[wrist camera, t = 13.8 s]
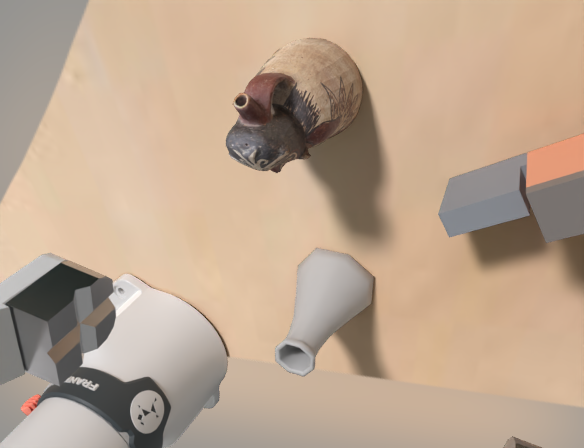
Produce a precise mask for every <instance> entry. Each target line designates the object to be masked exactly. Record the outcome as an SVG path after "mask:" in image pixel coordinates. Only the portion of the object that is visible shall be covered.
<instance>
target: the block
mask: <svg viewBox="0 0 584 448" xmlns="http://www.w3.org/2000/svg"><path fill="white" fill-rule="evenodd" d="M526 196H527V198H528V200H529V203H530V205H531V208H532V210H533V212H534V215H535V217H536V220H537V222H538V224H539V227H540V229H541V232H542V234H543V236H544V239H545V241H546V243H548V242H552V241H556V240H560V239H564V238H569V237H573V236H577V235H581V234H584V134H581V135H578V136H575V137H572V138H569V139H566V140H563V141H560V142H557V143H554V144H551V145H548V146H545V147H542V148H539V149H537V150H534V151H531V152H528V153H527V175H526Z"/></svg>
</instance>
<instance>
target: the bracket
mask: <svg viewBox="0 0 584 448" xmlns="http://www.w3.org/2000/svg"><path fill="white" fill-rule="evenodd" d="M526 175H527V153H525V154H522V155H519V156H516V157H513V158H510V159H507V160H504V161H501V162H498V163H495V164H492V165H489V166H486V167H483V168H480V169H477V170H474V171H471V172H468V173H465V174H462V175H459V176H456V177H453V178H450V179H449V182H448V185H447V188H446V191H445V195H444V198H443V201H442V204H441V207H440V210H439V213H438V215H439V217H440V219H441V221H442V223H443V225H444V227H445V229H446V231H447V234H448V236H449V237H452V236H456V235H460V234H463V233H467V232H471V231H474V230H478V229H482V228H485V227H489V226H493V225H496V224H500V223H504V222H508V221H511V220H515V219H519V218H522V217H526V216H530V203H529V200H528V198H527V196H526Z"/></svg>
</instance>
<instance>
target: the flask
mask: <svg viewBox="0 0 584 448" xmlns="http://www.w3.org/2000/svg"><path fill="white" fill-rule="evenodd" d="M373 280H374V277H373V276H372V275H371V274H370V273H369V272H368V271H367V270H365V269H364V268H363V267H362V266H361V265H360V264H359V263H358V262H356V261H355V260H354V259H353V258H352V257H351V256H350V255H348V254H343V253H339V252H334V251H329V250H324V249H319V248H316V249H315V250H314V251H313V252H312V253H311V254H310V255H309V256H308V257H307V258H305V259H304V260H303V261H302V262H301V263H300V264H299V265H298V271H297V287H296V299H295V309H294V317H293V320H292V324H291V327H290V330H289V333H288V335H287V337H286V339H285V340H283V341H282V342H281V343H280V344H279V345H277V346H276V348H275V358H276V362H277V363H278V364H279V365H281V366H282V367H283V368H284V369H285V370H287V371H288V372H290V373H293V374H297V375H300V376H305V375H307V374H308V373H310V372H311V371H312V370H314V368H315V357H316V355H317V353H318V351H319V349H320V348H321V347H322V345H323V344H324V343H325V342H326V341H327V339H328V338H329V337H330V336H331V335H332V334H333V333H334V332H336V331H337V330H338V329H339V328H341V327H342V326H343V325H344V324H345V323H347V322H348V321H349V320H351V319H352V318H353V317H355V316H356V315H357V314H358V313H360V312H361V311H362V310H364V309H365V308H366V307H368V306H369V305H370V304H371V303H372V291H373Z"/></svg>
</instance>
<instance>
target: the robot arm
mask: <svg viewBox="0 0 584 448" xmlns="http://www.w3.org/2000/svg"><path fill="white" fill-rule="evenodd" d="M227 363H228V362H227V354H226V351H225V348H224V345H223V343H222V341H221V339H220V337H219V335H218V334H217V332H216V331H215V329H214V328H213V326H212V325H211V324H210V323H209V322H208V321H207V319H206V318H205V317H204V316H203V315H202V314H200V313H199V312H198V311H197V310H196V309H194V308H193V307H192V306H190V305H189V304H188V303H186V302H184V301H183V300H181V299H179V298H177V297H175V296H173V295H171V294H168V293H165V292H162V291H159V290H156V289H154V288H151V287H149V286H148V285H147V284H145V283H144V282H142V281H141V280H139V279H138V278H136V277H134V276H132V275H130V274H124V275H122V276H121V277H119V278H118V279H117V280H115V281H114V282H113V281H112V279H110V278H108V277H106V276H104V275H102V274H100V273H97V272H95V271H93V270H90V269H88V268H86V267H83V266H81V265H79V264H76V263H74V262H72V261H69V260H66V259H64V258H62V257H59V256H57V255H54V254H52V253H48V254H43V255H41V256H39V257H38V258H36V259H35V260H33V261H32V262H30V263H29V264H27V265H26V266H25V267H23V268H22V269H20V270H19V271H17V272H16V273H14V274H13V275H12V276H10V277H9V278H7V279H6V280H4V281H3V282H1V283H0V385H1V384H4V383H6V382H8V381H10V380H13V379H15V378H17V377H19V376H22V375H24V374H25V372H27V373H30V374H32V375H34V376H37V377H39V378H41V379H43V380H46V381H48V382H50V384H49V385H48V386H47V387H46V389H45V390H44V393H43V395H42V396H40V395H35V396H33V397H32V398H30V399H29V400H28V401H26V402H25V403H24V404H23V405H22V408H21V410H22V411H23V412H24V413H25V414H26V415H28V416H27V417H26V418H25V420H23V421H22V422H21V423H20V424H19V425H18V426H17V427H16V428H15V429H14V430H13V431H12V432H11V433H10V434H9V435H8V436H7V437H6V438H5V439H4V440H3V441H2V442H1V443H0V448H164V447H171V446H172V445H173V444H175V443H176V441H177V440H178V439H179V438H180V437H181V435H182V434H183V433H184V432H185V430H186V429H187V428H188V427H189V425H190V424H191V423H192V421H193V420H194V419H195V418H196V416H197V415H198V414H199V413H200V412H201V410H202V409H203V408H213V407H214V406H215V405H216V403H217V402H218V401H219V385H220V383H221V381H222V380H223V378H224V377H225V374H226V371H227V365H228V364H227ZM503 448H542V447H539V446H536V445H534V444H531V443H528V442H526V441H523V440H520V439H518V438H515V437H511V438H510V439H508V441H507V442H506V444H505V445H504V447H503Z"/></svg>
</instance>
